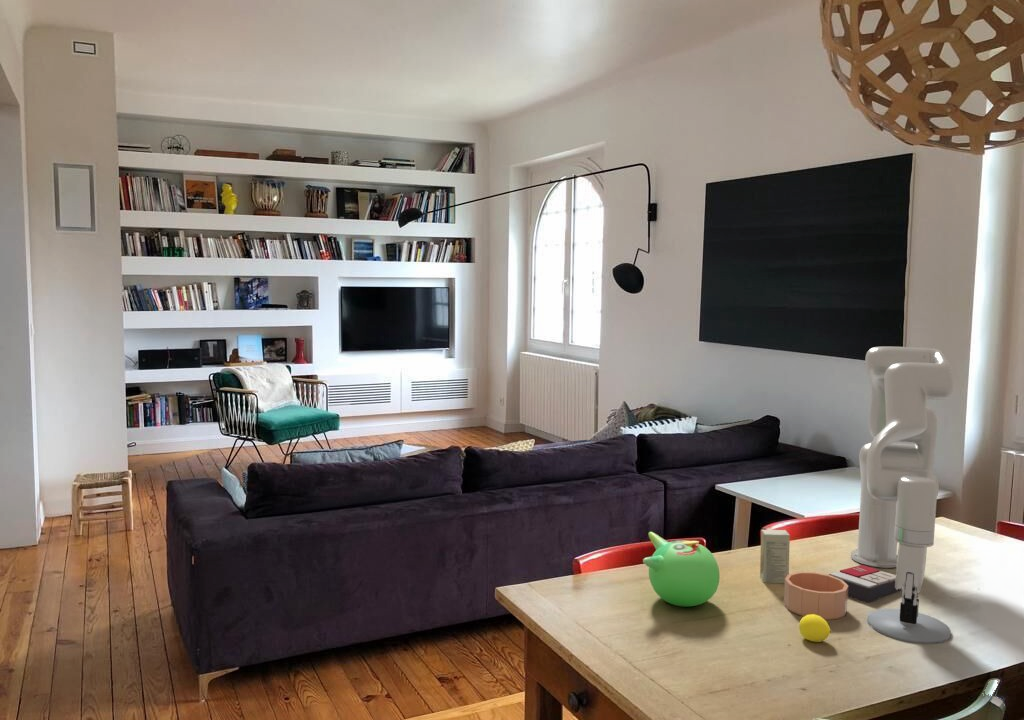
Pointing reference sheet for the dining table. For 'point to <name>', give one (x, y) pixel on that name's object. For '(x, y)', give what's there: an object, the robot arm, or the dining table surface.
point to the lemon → (814, 628)
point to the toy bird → (682, 571)
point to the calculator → (867, 583)
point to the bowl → (816, 595)
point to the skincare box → (774, 556)
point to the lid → (909, 627)
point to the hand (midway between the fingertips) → (908, 618)
